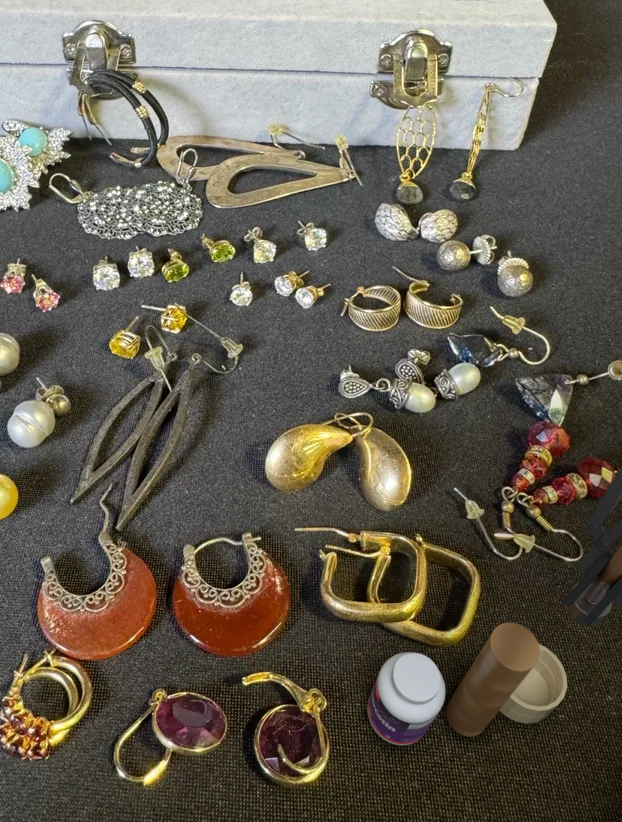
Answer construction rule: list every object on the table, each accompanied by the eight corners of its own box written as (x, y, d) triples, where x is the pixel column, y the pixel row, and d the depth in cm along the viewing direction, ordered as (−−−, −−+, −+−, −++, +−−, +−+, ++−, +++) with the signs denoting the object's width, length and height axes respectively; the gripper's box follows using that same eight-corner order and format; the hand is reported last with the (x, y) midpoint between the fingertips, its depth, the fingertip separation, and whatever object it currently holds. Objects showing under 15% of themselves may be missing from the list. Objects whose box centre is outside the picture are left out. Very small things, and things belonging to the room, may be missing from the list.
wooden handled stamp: (607, 601, 87) (662, 536, 76) (598, 633, 85) (653, 571, 74) (570, 583, 88) (619, 517, 77) (560, 614, 86) (609, 550, 75)
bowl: (560, 678, 107) (574, 661, 103) (542, 738, 102) (556, 723, 98) (498, 645, 110) (509, 628, 106) (477, 702, 105) (488, 687, 101)
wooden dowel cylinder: (492, 707, 105) (546, 637, 87) (479, 744, 102) (531, 680, 84) (454, 686, 107) (499, 613, 88) (440, 723, 104) (483, 655, 85)
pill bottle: (356, 693, 106) (370, 652, 95) (412, 674, 108) (432, 632, 97) (381, 757, 101) (399, 722, 90) (439, 736, 102) (463, 699, 92)
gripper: (815, 481, 75) (647, 661, 81) (671, 384, 82) (526, 555, 88) (820, 483, 69) (638, 678, 74) (664, 378, 76) (508, 563, 82)
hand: (578, 611), depth 81 cm, fingers closed on wooden handled stamp, 2 cm apart
